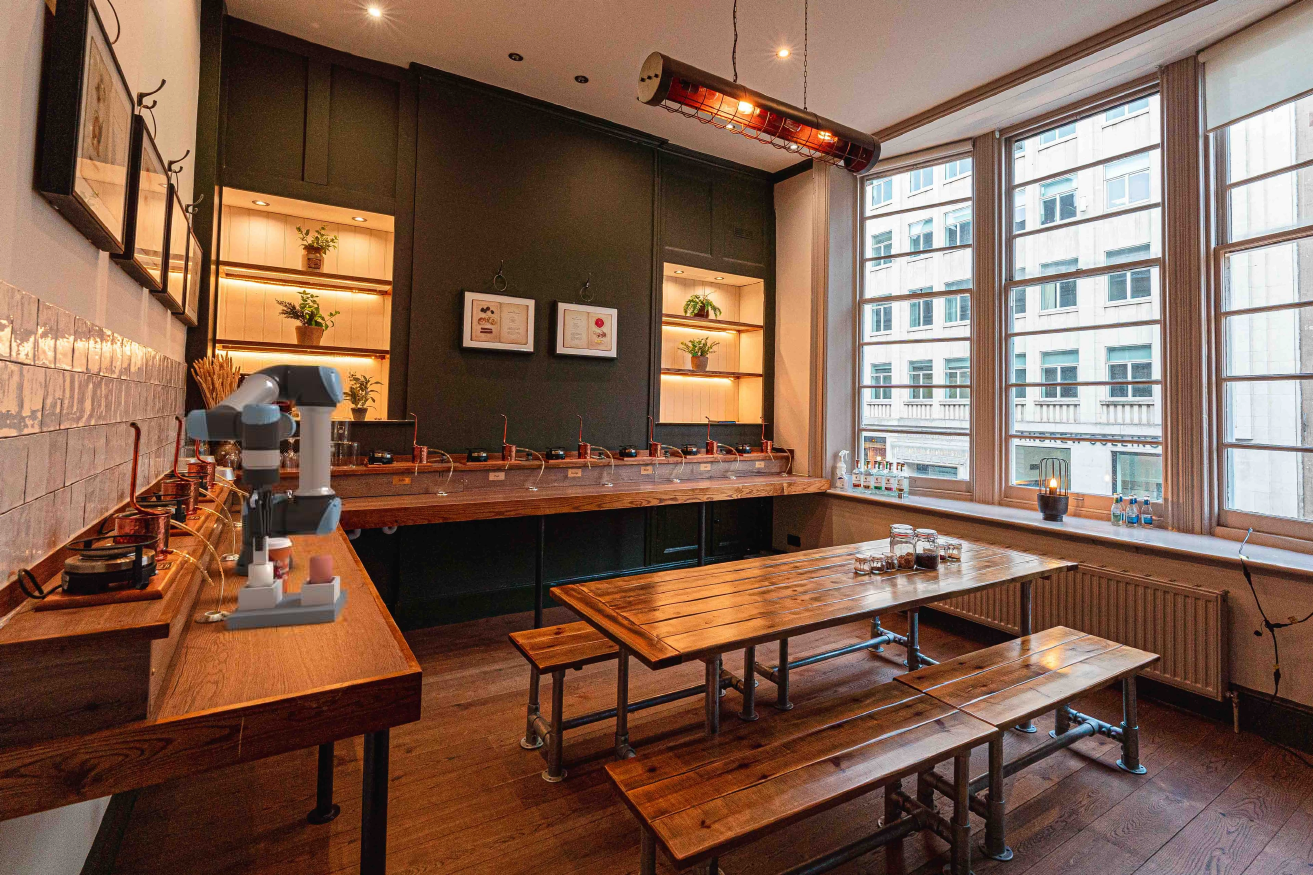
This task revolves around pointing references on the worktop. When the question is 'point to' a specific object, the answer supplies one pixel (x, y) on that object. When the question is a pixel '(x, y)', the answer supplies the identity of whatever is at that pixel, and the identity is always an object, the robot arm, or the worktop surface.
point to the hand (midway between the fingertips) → (260, 563)
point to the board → (287, 605)
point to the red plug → (321, 569)
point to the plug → (260, 575)
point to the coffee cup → (280, 559)
